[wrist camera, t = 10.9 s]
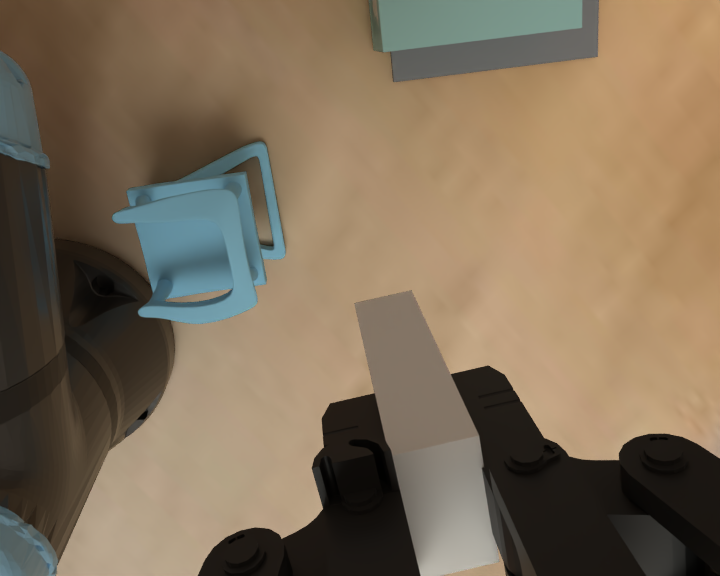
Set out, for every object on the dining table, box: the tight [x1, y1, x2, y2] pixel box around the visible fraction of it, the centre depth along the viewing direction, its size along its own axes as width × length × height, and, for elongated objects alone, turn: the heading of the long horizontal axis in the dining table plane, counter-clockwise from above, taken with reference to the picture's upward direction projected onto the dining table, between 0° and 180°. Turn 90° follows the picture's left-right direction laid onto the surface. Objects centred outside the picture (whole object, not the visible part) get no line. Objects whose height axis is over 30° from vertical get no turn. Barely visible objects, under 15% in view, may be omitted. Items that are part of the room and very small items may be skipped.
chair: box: [112, 141, 286, 324], centre depth 38 cm, size 8×8×12 cm
